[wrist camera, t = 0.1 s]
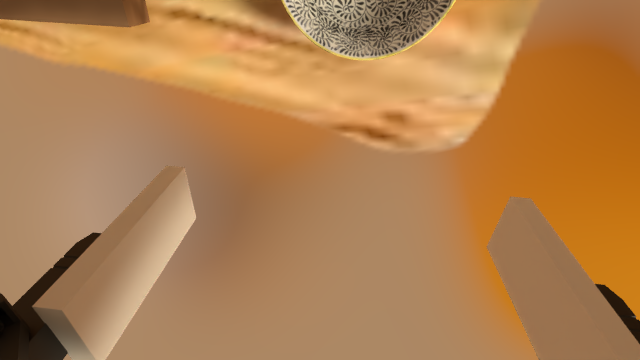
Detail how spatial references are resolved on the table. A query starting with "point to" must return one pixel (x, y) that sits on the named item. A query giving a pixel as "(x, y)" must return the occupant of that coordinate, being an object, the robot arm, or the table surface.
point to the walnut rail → (77, 11)
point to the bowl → (366, 24)
